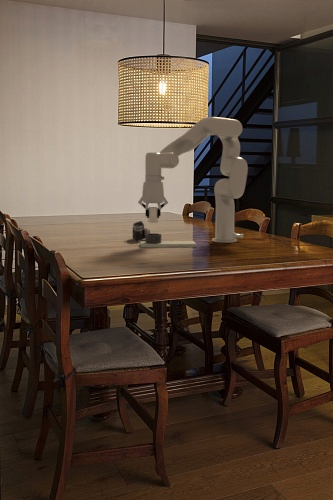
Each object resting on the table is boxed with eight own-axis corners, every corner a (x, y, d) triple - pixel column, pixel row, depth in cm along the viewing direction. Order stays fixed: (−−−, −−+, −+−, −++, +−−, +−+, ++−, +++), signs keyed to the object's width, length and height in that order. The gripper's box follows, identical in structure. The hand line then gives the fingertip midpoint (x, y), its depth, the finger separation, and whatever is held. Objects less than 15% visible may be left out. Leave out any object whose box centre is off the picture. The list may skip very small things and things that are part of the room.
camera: (152, 242, 285) (152, 222, 284) (135, 242, 284) (135, 222, 282) (147, 238, 300) (147, 219, 299) (132, 238, 299) (131, 219, 297)
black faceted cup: (160, 241, 277) (160, 233, 276) (161, 243, 269) (161, 235, 269) (145, 241, 276) (145, 233, 276) (145, 243, 269) (145, 235, 268)
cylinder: (157, 221, 273) (157, 206, 272) (157, 222, 269) (157, 207, 268) (148, 221, 273) (148, 206, 272) (148, 222, 269) (148, 207, 268)
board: (193, 244, 279) (193, 241, 279) (196, 247, 269) (196, 243, 269) (140, 244, 277) (140, 241, 277) (141, 247, 268) (141, 244, 267)
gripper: (170, 179, 272) (170, 217, 275) (135, 178, 271) (135, 217, 274) (171, 179, 265) (171, 218, 268) (135, 179, 264) (135, 218, 267)
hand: (152, 217), depth 271 cm, fingers closed on cylinder, 4 cm apart
